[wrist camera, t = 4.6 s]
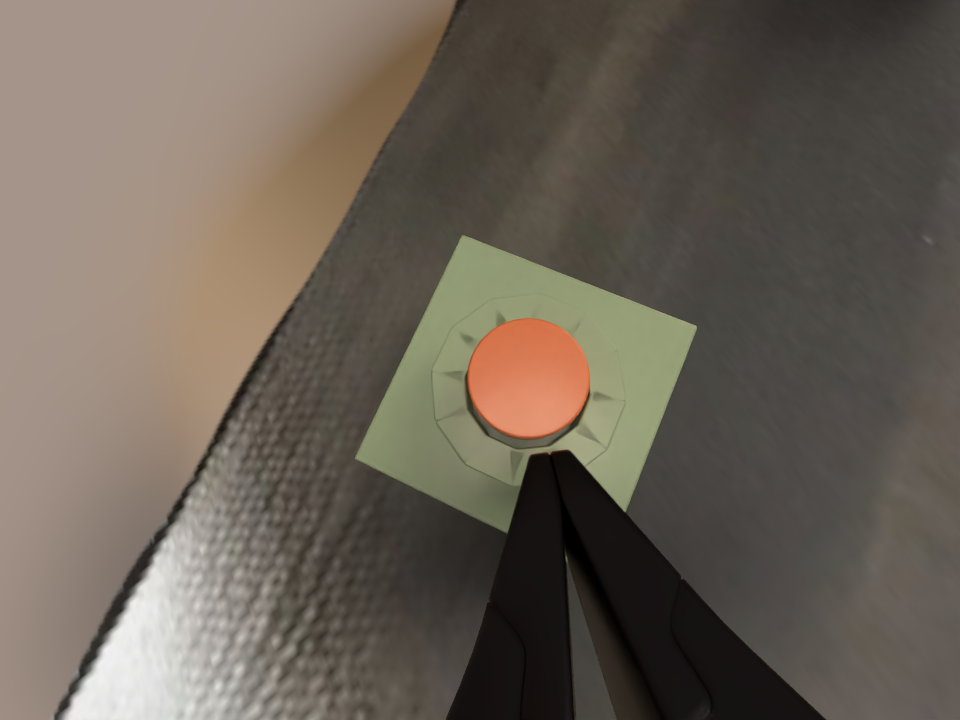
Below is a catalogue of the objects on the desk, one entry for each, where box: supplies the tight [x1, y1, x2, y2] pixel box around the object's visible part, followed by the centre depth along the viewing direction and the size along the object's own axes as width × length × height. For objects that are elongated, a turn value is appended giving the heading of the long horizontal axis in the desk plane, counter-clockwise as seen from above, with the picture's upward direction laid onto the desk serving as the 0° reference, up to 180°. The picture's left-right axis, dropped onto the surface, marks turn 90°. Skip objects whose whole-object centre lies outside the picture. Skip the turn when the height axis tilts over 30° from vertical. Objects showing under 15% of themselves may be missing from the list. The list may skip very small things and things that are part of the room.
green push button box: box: [355, 235, 697, 563], centre depth 19 cm, size 10×10×8 cm
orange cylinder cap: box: [467, 318, 590, 440], centre depth 14 cm, size 4×4×3 cm
